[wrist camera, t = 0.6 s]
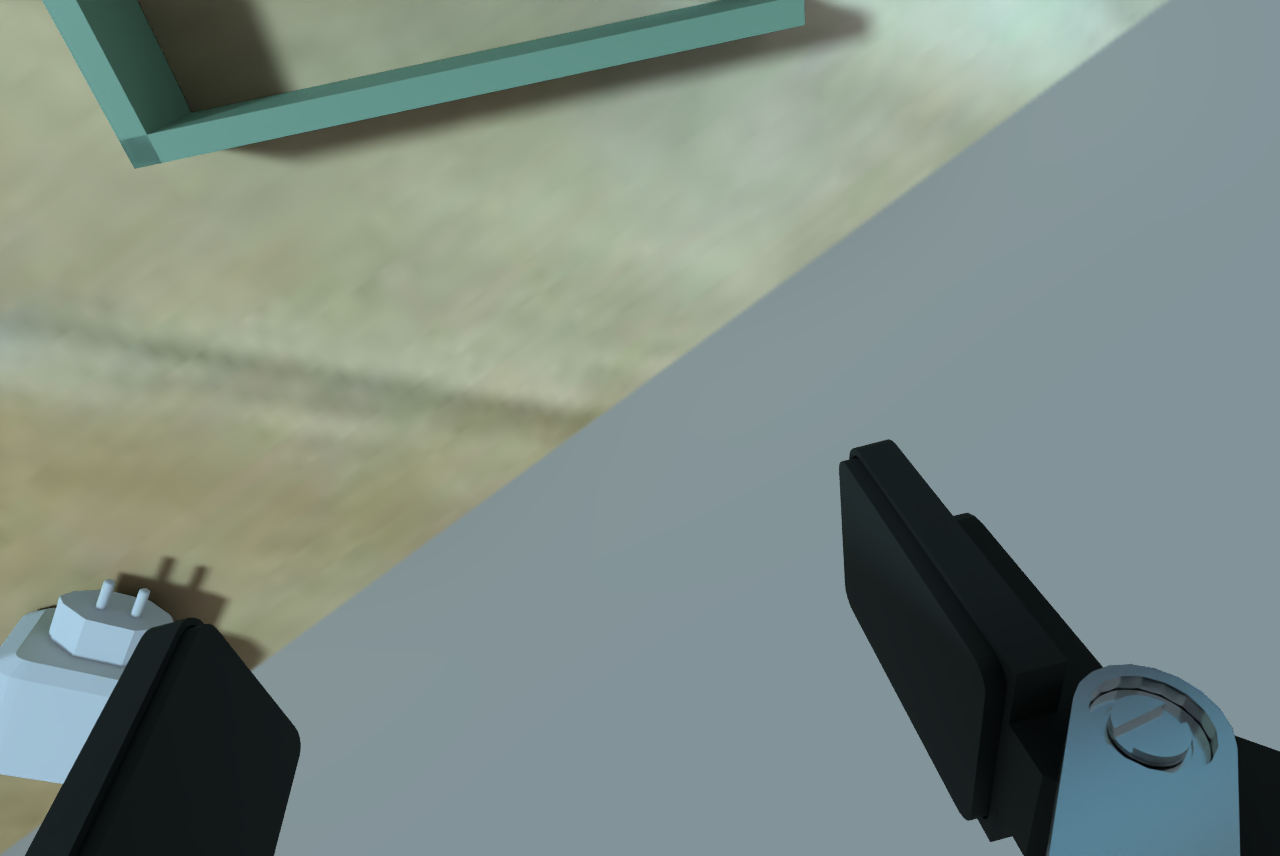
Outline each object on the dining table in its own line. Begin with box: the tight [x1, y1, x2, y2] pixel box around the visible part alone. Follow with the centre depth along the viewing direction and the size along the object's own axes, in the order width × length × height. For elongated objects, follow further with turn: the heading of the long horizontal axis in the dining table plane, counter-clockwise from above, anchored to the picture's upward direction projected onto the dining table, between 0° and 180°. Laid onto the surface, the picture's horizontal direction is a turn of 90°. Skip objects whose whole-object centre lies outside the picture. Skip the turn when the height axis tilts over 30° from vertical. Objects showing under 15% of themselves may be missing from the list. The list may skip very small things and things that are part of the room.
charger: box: [0, 579, 174, 784], centre depth 43 cm, size 5×9×15 cm
